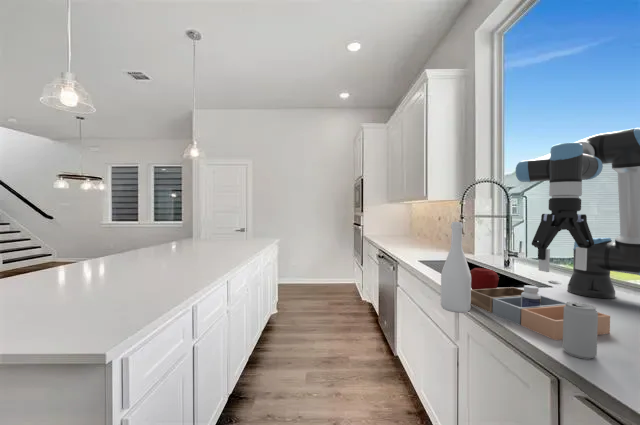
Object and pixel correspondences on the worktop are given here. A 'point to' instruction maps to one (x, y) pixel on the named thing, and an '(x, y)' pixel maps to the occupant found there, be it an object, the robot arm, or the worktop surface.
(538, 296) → the pill bottle
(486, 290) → the walnut bin
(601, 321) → the terracotta bin
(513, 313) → the slate bin
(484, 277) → the apple
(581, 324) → the beverage can
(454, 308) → the wine bottle
